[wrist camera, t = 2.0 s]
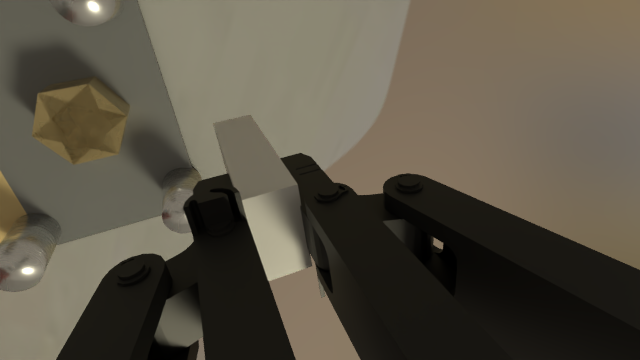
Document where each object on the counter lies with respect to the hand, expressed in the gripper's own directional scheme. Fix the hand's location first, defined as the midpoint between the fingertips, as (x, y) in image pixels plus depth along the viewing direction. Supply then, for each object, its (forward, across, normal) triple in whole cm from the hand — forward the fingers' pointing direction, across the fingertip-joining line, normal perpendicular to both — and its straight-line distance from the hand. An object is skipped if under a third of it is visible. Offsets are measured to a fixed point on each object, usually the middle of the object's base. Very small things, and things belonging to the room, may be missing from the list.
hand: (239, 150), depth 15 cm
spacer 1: (+13, -14, -7) cm, 20 cm away
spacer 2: (+13, -5, +6) cm, 15 cm away
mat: (+13, -10, 0) cm, 16 cm away
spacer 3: (+13, -4, -6) cm, 15 cm away
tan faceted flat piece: (+12, -8, 0) cm, 15 cm away
